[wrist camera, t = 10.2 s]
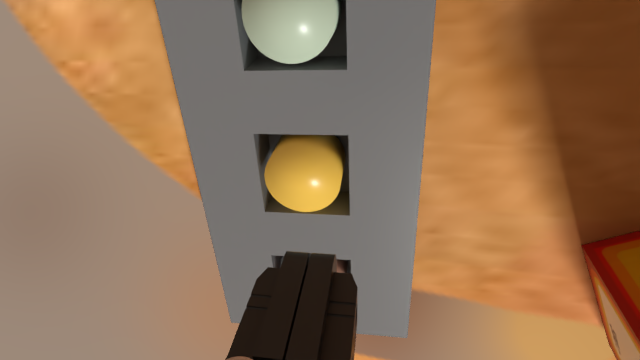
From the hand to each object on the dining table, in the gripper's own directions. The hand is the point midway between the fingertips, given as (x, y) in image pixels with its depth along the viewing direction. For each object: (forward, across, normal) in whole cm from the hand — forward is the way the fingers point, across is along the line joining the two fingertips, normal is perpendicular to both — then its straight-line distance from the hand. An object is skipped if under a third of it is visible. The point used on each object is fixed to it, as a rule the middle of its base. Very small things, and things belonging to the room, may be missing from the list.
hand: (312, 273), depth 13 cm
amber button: (+11, +2, +2) cm, 12 cm away
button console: (+12, +2, +2) cm, 12 cm away
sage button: (+12, +2, -6) cm, 13 cm away
